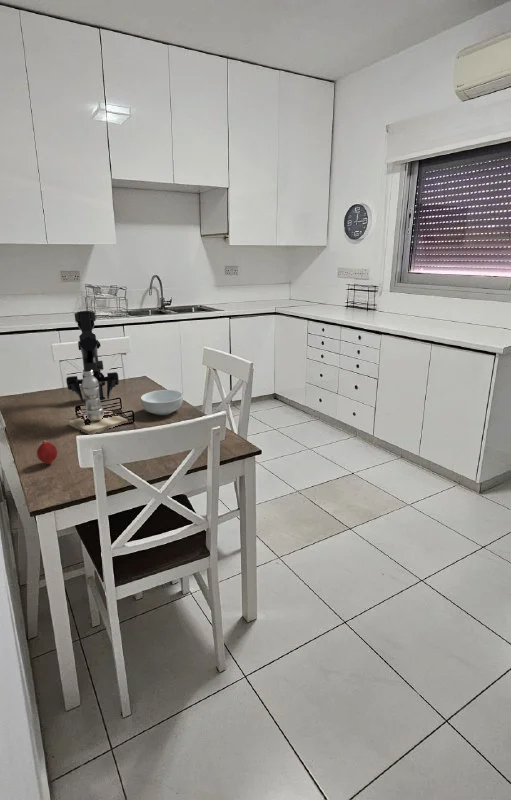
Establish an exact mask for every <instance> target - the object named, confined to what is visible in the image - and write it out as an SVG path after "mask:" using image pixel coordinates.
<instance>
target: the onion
mask: <svg viewBox="0 0 511 800" xmlns="http://www.w3.org/2000/svg"><path fill="white" fill-rule="evenodd" d="M36 454H37V455H36V456H37V459H38V460H39V461H41V462H42V463H44V464H47V465H51V464H52V462H54V461H55V460H56V459H57V456H58V449H57V447H56V445H55V444H53V443H51V442H49V441H47V440H43V441H42V443H41V444H40V445H39V446H38V448H37V451H36Z"/></svg>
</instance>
